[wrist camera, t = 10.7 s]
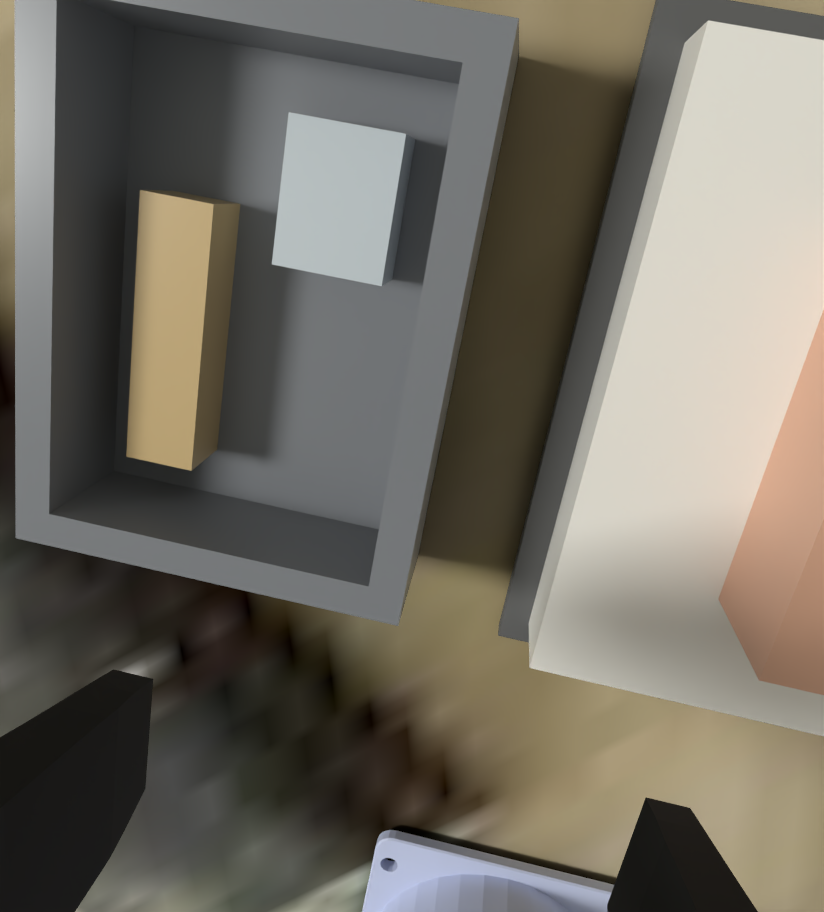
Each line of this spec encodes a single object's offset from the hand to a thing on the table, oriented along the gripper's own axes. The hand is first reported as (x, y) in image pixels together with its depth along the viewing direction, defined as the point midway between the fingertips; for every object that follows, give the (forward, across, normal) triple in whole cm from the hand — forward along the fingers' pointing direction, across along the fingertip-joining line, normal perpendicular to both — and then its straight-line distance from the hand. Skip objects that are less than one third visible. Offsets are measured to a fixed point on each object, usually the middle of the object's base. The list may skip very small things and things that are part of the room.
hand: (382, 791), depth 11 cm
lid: (+9, -8, -5) cm, 13 cm away
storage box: (+9, +5, -5) cm, 12 cm away
